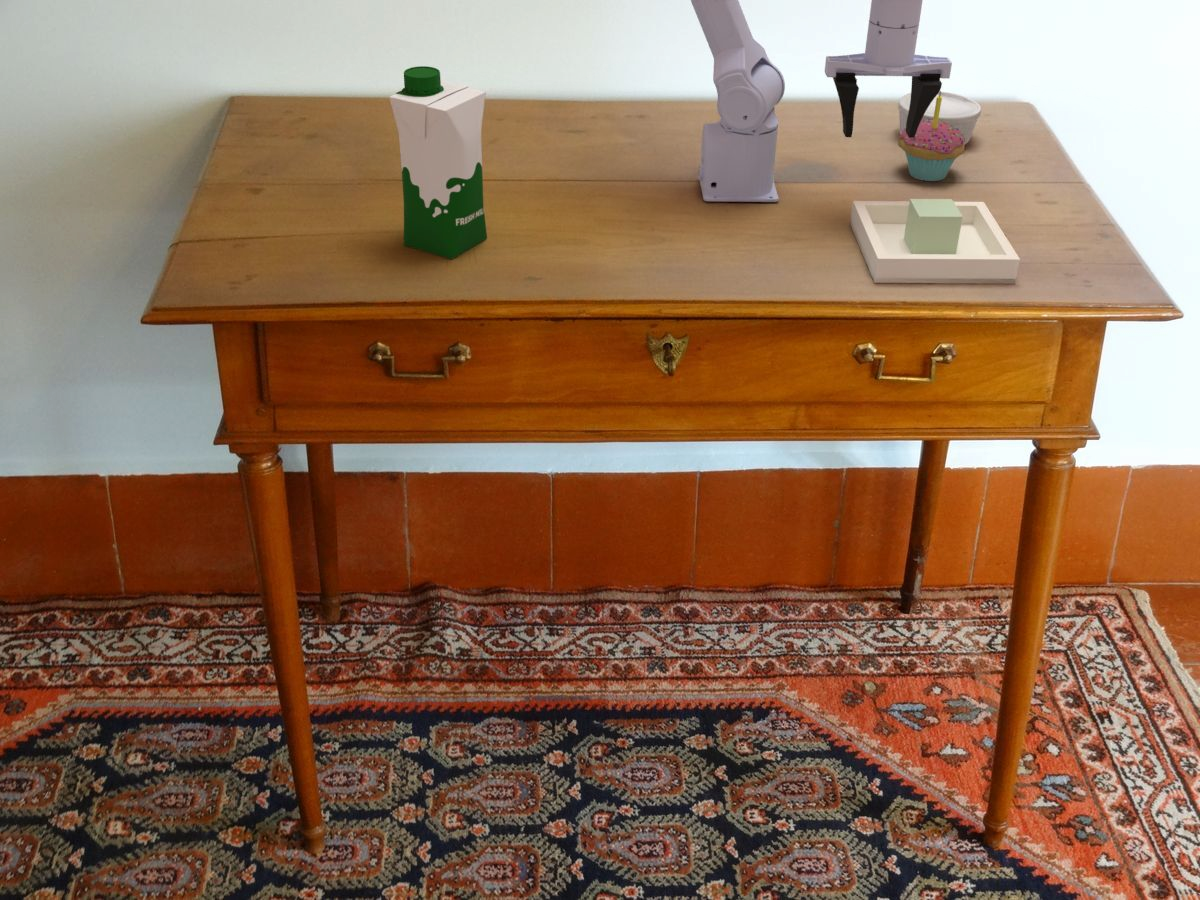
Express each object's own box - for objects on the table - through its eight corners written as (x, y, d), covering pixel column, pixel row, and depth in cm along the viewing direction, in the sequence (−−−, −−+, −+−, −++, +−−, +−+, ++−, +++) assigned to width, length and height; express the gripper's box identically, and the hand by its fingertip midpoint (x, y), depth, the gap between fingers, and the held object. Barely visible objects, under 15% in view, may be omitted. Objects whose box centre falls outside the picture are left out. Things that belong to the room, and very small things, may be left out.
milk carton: (438, 220, 164) (429, 57, 153) (498, 238, 160) (494, 72, 149) (392, 246, 158) (379, 78, 147) (454, 265, 154) (446, 94, 143)
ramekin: (986, 136, 192) (992, 100, 189) (958, 160, 184) (964, 123, 181) (912, 120, 196) (917, 84, 194) (881, 143, 189) (886, 106, 186)
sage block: (912, 256, 157) (919, 216, 154) (903, 238, 161) (909, 198, 158) (955, 256, 157) (962, 216, 154) (945, 238, 161) (952, 199, 158)
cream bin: (874, 282, 152) (877, 258, 150) (850, 223, 165) (852, 200, 164) (1015, 283, 153) (1020, 259, 151) (979, 224, 166) (983, 201, 164)
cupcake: (959, 189, 175) (975, 99, 168) (893, 183, 176) (906, 94, 170) (958, 165, 182) (973, 77, 175) (894, 159, 183) (907, 72, 177)
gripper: (837, 31, 152) (824, 146, 160) (964, 32, 153) (945, 147, 160) (827, 13, 158) (815, 125, 166) (950, 14, 159) (932, 126, 166)
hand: (878, 134), depth 163 cm, fingers open, 7 cm apart
